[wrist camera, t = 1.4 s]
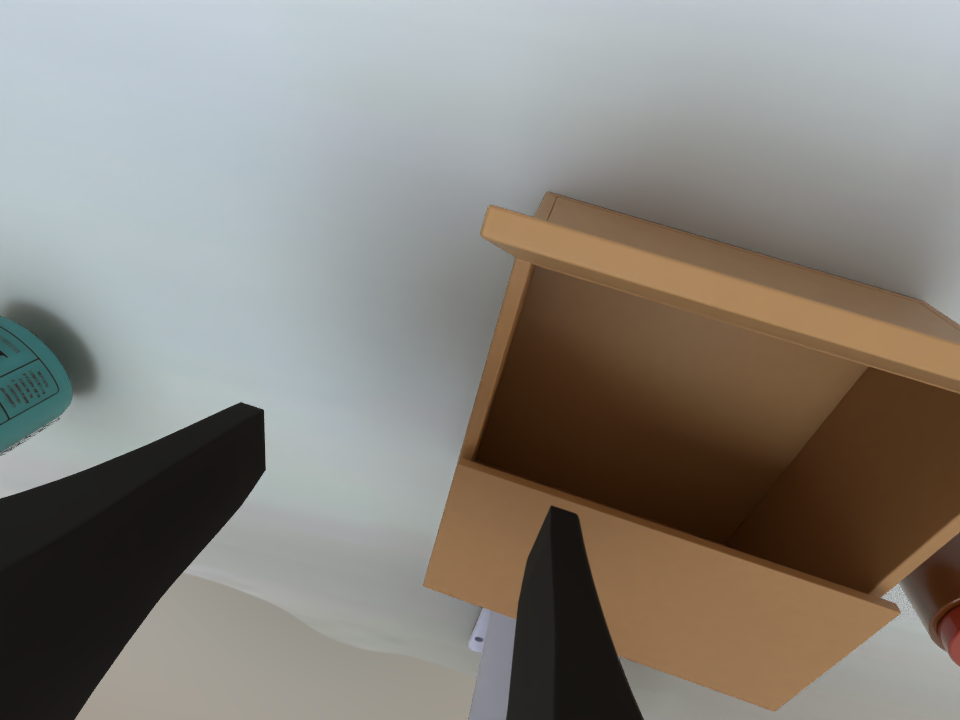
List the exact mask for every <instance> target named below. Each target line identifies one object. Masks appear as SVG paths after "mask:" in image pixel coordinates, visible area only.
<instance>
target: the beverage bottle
mask: <svg viewBox="0 0 960 720" xmlns="http://www.w3.org/2000/svg"><path fill="white" fill-rule="evenodd" d="M71 400H72V386H71V382H70V380H69V377H68V375H67V373H66V371H65V369H64V368H63V366H62V364H61V363H60V361H59V360H58V359H57V357H56V356H55V355H54V354H53V352H52V351H51V350H50V349H49V348H48V347H47V346H46V345H45V344H44V343H43V342H42V341H41V340H40V339H39V338H38V337H36V336H35V335H34V334H33V333H31V332H30V331H29V330H27V329H26V328H24V327H23V326H21V325H20V324H18V323H16V322H14V321H12V320H9V319H7V318H4V317H1V316H0V453H1V452H2V453H3V451H4V450H5V451H4V452H7V451H8V449H7V448H9V447H11V446H12V445H14V444H15V443H17V442H19V441H20V440H22V439H23V438H25V439H26V437H27V436H28V435H30V434H32V433H33V432H35V431H36V430H38V429H40V428H41V427H43V428H44V425H46V424H48V423H49V422H51V421H52V420H54V419H56V418H57V417H59V416H60V415H61V414H62V413H63V412H64V411H65V410H66V409H67V407H68V406H69V405H70V403H71ZM59 419H60V418H58V420H59ZM56 420H57V419H56ZM58 420H57V421H58ZM57 421H56V422H57ZM53 422H54V421H53ZM51 423H52V422H51ZM51 423H50V424H51ZM51 425H52V424H51ZM46 426H49V424H48V425H46ZM46 426H45V427H46ZM43 428H42V429H40V431H41V430H42V431H43ZM45 429H46V428H45ZM38 431H39V430H38ZM38 431H37V432H38ZM35 433H36V432H35ZM33 434H34V433H33ZM33 434H32V435H33ZM37 434H38V433H37ZM33 436H34V435H33ZM28 437H32V436H31V435H30V436H28ZM28 437H27V438H28ZM25 439H24V440H25ZM29 439H30V438H29ZM27 440H28V439H27ZM22 441H23V440H22ZM25 441H26V440H25ZM20 442H21V441H20ZM20 442H19V444H20ZM22 443H23V442H22ZM22 443H21V444H22ZM19 444H18V443H17V446H18V445H19ZM15 445H16V444H15ZM15 445H14V446H15ZM17 446H16V447H17ZM12 447H13V446H12ZM12 447H11V449H10V448H9V449H10V450H12ZM6 449H7V450H6ZM13 449H14V448H13ZM10 450H9V451H10ZM9 451H8V452H9ZM2 453H1V454H2ZM5 454H6V453H5ZM2 455H4V454H2ZM0 456H1V455H0Z"/></svg>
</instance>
